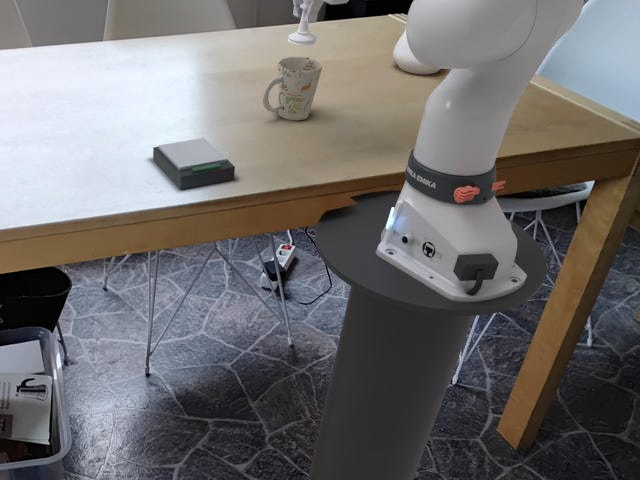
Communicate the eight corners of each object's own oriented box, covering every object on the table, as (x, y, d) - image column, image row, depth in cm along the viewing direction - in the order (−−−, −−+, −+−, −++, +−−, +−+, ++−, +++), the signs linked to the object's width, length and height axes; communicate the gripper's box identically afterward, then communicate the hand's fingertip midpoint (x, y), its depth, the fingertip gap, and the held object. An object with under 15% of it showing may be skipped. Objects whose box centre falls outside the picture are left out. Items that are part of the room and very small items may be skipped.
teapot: (464, 82, 160) (478, 34, 153) (412, 85, 158) (423, 36, 151) (425, 52, 175) (436, 7, 168) (376, 55, 173) (385, 9, 166)
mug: (323, 117, 145) (331, 65, 138) (276, 131, 139) (282, 78, 133) (294, 103, 150) (301, 53, 143) (248, 116, 144) (252, 65, 138)
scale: (234, 179, 124) (235, 163, 122) (180, 189, 121) (181, 173, 119) (203, 151, 132) (204, 135, 130) (153, 160, 129) (153, 144, 127)
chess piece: (312, 46, 124) (321, -18, 117) (284, 43, 125) (291, -21, 119) (318, 38, 127) (327, -25, 121) (291, 35, 129) (298, -27, 122)
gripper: (267, -84, 121) (259, 5, 130) (334, -60, 107) (320, 38, 116) (299, -86, 123) (289, 1, 132) (370, -63, 109) (353, 34, 118)
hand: (304, 19), depth 124 cm, fingers closed on chess piece
